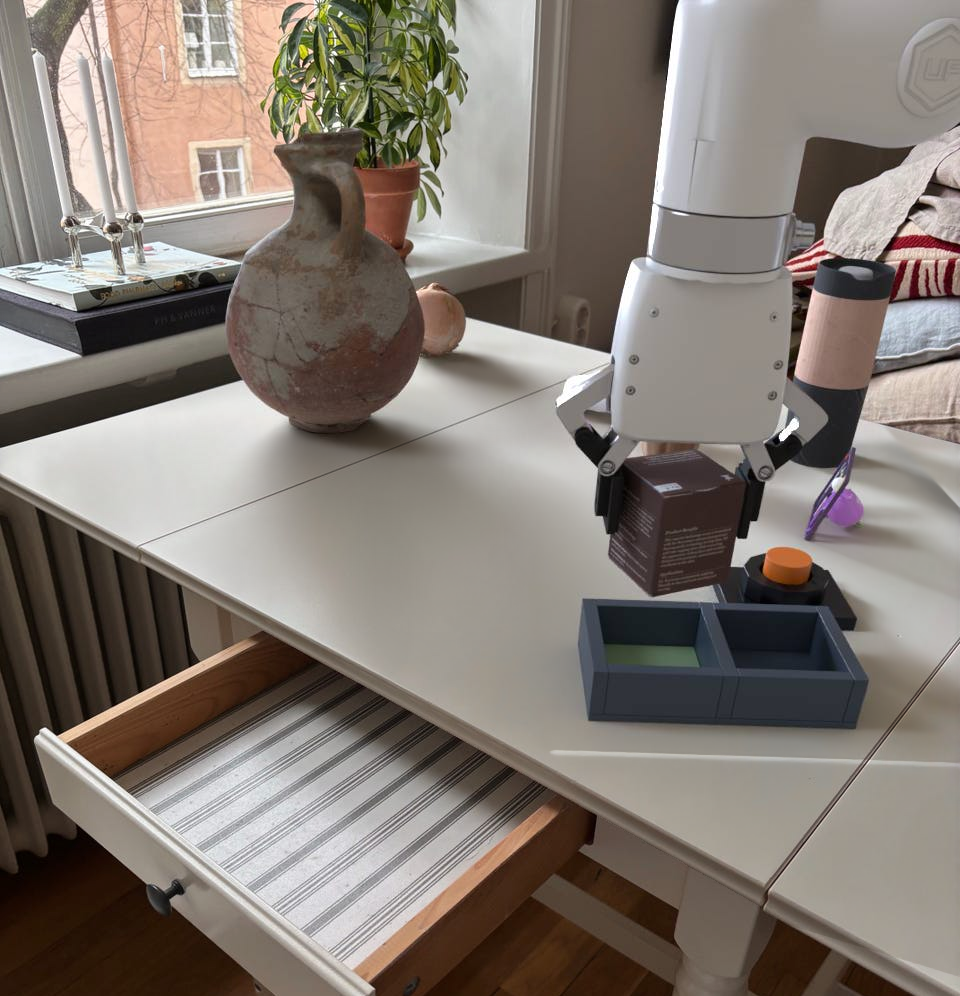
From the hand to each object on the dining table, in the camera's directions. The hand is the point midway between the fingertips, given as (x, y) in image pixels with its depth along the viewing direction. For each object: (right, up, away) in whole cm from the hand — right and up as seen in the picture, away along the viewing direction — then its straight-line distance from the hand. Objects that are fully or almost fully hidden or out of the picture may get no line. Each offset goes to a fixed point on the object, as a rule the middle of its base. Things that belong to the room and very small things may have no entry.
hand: (673, 526), depth 64 cm
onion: (-19, +32, +72) cm, 81 cm away
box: (0, -3, +2) cm, 4 cm away
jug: (-30, +18, +49) cm, 60 cm away
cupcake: (+7, +11, +41) cm, 44 cm away
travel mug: (+24, +13, +45) cm, 53 cm away
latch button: (+12, -2, +16) cm, 20 cm away
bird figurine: (+2, +20, +54) cm, 58 cm away
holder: (+4, -11, +7) cm, 13 cm away
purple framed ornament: (+21, +3, +30) cm, 37 cm away
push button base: (+12, -4, +17) cm, 21 cm away
